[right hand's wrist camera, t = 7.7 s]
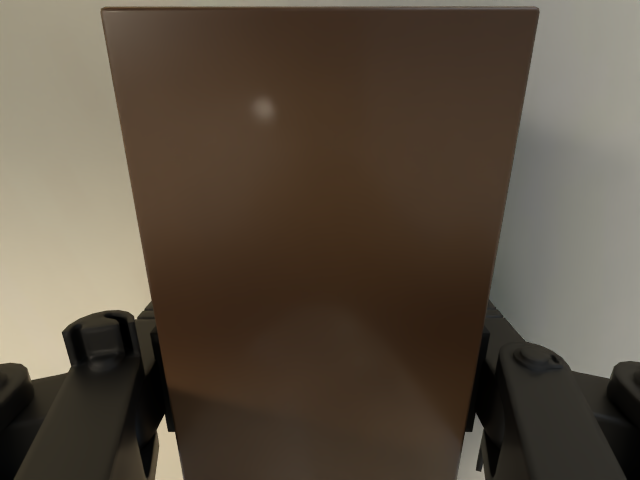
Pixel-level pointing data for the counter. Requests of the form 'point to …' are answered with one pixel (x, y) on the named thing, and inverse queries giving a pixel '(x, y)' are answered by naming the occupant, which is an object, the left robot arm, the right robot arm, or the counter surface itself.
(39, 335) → the counter surface
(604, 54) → the counter surface
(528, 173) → the counter surface
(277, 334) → the bar
